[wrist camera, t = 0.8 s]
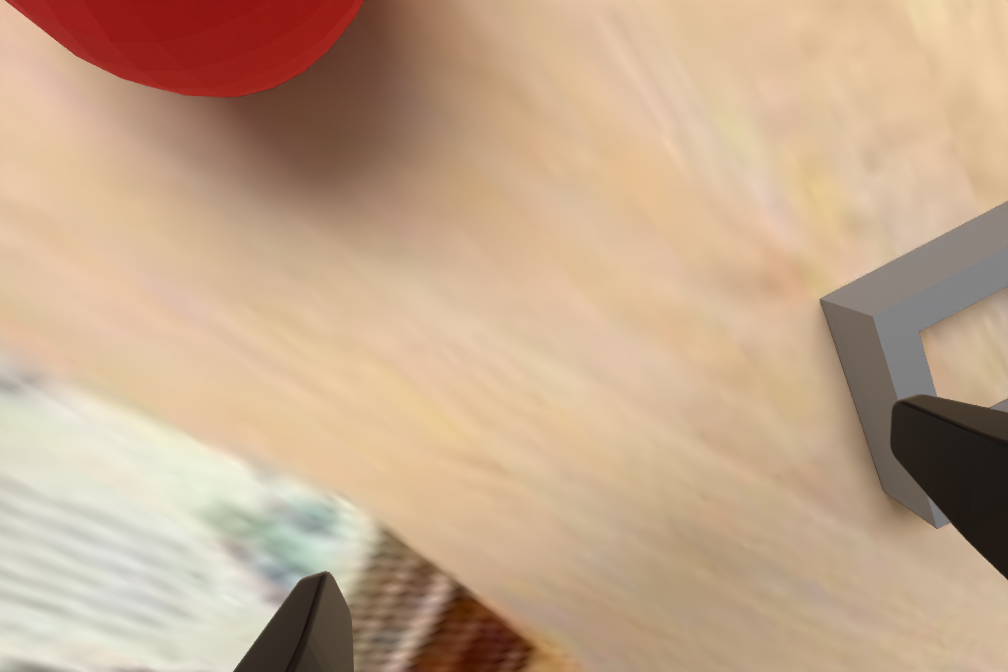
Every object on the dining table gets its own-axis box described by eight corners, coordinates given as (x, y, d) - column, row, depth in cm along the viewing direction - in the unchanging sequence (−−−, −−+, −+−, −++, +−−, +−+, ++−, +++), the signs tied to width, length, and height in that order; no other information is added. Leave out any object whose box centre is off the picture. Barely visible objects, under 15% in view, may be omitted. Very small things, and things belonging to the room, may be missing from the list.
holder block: (1085, 388, 27) (1163, 413, 24) (883, 491, 27) (937, 528, 24) (1047, 180, 24) (1131, 181, 21) (820, 298, 24) (872, 316, 21)
